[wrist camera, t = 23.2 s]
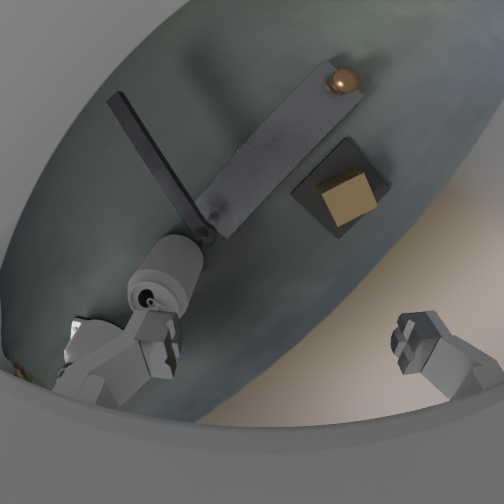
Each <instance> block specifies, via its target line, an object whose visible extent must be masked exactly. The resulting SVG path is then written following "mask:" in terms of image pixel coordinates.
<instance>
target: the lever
mask: <svg viewBox="0 0 504 504" xmlns="http://www.w3.org/2000/svg"><path fill="white" fill-rule="evenodd" d="M106 102H107V103H108V105H109V107H110V108H111V110H112V111H113V113H114V115H115V116H116V118H117V120H118V121H119V123H120V124H121V126H122V128H123V129H124V131H125V132H126V134H127V135H128V137H129V139H130V140H131V142H132V143H133V145H134V146H135V148H136V150H137V151H138V153H139V154H140V156H141V157H142V159H143V160H144V162H145V163H146V165H147V167H148V168H149V170H150V171H151V173H152V174H153V176H154V177H155V179H156V180H157V182H158V183H159V185H160V186H161V188H162V189H163V191H164V192H165V194H166V195H167V197H168V198H169V200H170V201H171V203H172V204H173V206H174V207H175V208H176V210H177V211H178V213H179V214H180V216H181V217H182V219H183V220H184V222H185V223H186V224H187V226H188V227H189V229H190V230H191V232H192V233H193V240H194V242H195V243H196V244H197V245H198V246H199V247H202V248H208V247H211V246H212V245H213V244H214V242H215V240H216V237H217V230H216V228H215V226H214V225H212V224H210V223H208V222H207V221H206V219H205V218H204V216H203V215H202V213H201V212H200V210H199V209H198V207H197V206H196V204H195V203H194V201H193V200H192V198H191V197H190V195H189V194H188V192H187V191H186V189H185V188H184V186H183V185H182V183H181V182H180V180H179V179H178V177H177V176H176V174H175V172H174V171H173V169H172V168H171V166H170V165H169V163H168V162H167V160H166V159H165V157H164V156H163V154H162V153H161V151H160V149H159V148H158V146H157V145H156V143H155V142H154V140H153V139H152V137H151V136H150V134H149V132H148V131H147V129H146V128H145V126H144V125H143V123H142V121H141V120H140V118H139V117H138V115H137V114H136V112H135V110H134V109H133V107H132V106H131V104H130V103H129V101H128V99H127V98H126V96H125V95H124V93H123V92H119V91H117V92H116V93H115V94H114V95H113V96H111V97H110V98H109V99H108V100H107V101H106Z"/></svg>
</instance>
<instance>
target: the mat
mask: <svg viewBox="0 0 504 504" xmlns="http://www.w3.org/2000/svg"><path fill="white" fill-rule="evenodd" d="M353 166H354V167H356V168H357V169H359V170H360V171H362V172H364V174H365V177H366V179H367V181H368V184H369V186H370V188H371V191H372V193H373V196H374V198H375V200H376V203H377V202H378V201H379V200H380V199H381V198H382V197H383V196H384V195H385V194H386V193H387V192H388V191H389V190H390V189H391V188H390V187H389V186H388V185H387V183H386V182H385V181H384V180H383V179H382V177H381V176H380V175H379V174H378V173H377V172H376V170H375V169H374V168H373V167H372V166H371V165H370V164H369V163H368V161H367V160H366V159H365V158H364V157H363V156H362V155H361V154H360V153H359V152H358V150H357V149H356V148H355V147H354V146H353V145H352V144H351V143H350V142H349V141H348V140H347V139H346V138H344V139H343V140H342V141H341V142H340V143H339V144H338V145H337V146H336V147H335V148H334V149H333V150H332V151H331V152H330V153H329V155H328V156H327V157H326V158H325V159H324V160H323V161H322V162H321V163H320V164H319V165H318V166H317V167H316V168H315V169H314V170H313V171H312V172H311V173H310V174H309V175H308V176H307V177H306V178H305V179H304V180H303V181H302V182H301V183H300V184H299V185H298V186H297V187H296V188H295V189H294V190H293V191H292V192H291V195H292V196H293V197H294V198H295V199H296V200H297V201H298V202H299V203H301V204H302V205H303V206H304V207H305V208H306V209H307V210H308V211H309V212H310V213H311V214H313V215H314V216H315V217H316V218H317V219H318V220H319V221H320V222H321V223H322V224H323V225H324V226H325V227H326V228H327V229H328V230H330V231H331V232H332V233H333V234H334V235H335V236H336V237H337V238H338V239H339V238H340V237H341V236H343V235H344V234H345V233H346V232H347V231H348V230H349V229H350V228H351V227H352V226H353V225H354V224H355V223H356V222H357V221H358V220H359V219H360V218H361V217H362V216H363V215H364V214H365V213H364V214H362V215H360V216H358V217H356V218H354V219H353V220H351V221H349V222H347V223H345V224H343V225H341V226H339V227H337V225H336V223H335V222H334V220H333V218H332V217H331V215H330V213H329V211H328V209H327V207H326V205H325V203H324V201H323V199H322V197H321V195H320V193H319V191H318V189H317V187H316V185H318V184H320V183H322V182H324V181H326V180H328V179H329V178H331V177H333V176H335V175H337V174H339V173H341V172H343V171H345V170H347V169H349V168H351V167H353Z"/></svg>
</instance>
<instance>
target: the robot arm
mask: <svg viewBox="0 0 504 504" xmlns="http://www.w3.org/2000/svg"><path fill="white" fill-rule="evenodd" d="M397 323H398V327H397V328H396V329H395V330H394V331H393V334H392V336H391V349H392V351H393V353H394V354H395V355H396V356H397V357H399V359H398V365H399V367H400V369H401V371H402V374H403V375H405V374H413V373H419V372H421V374H422V375H423V376H424V377H425V378H427V379H428V380H429V381H430V382H431V383H432V384H433V385H434V386H435V387H437V388H438V389H439V390H440V391H441V392H442V393H443V394H444V395H445V396H447V397H448V398H449V399H450V401H448V402H445V403H442V404H438V405H434V406H431V407H427V408H423V409H419V410H415V411H410V412H406V413H401V414H396V415H392V416H386V417H382V418H375V419H369V420H363V421H355V422H348V423H339V424H329V425H318V426H301V427H234V426H233V427H232V426H218V425H206V424H195V423H187V422H179V421H172V420H165V419H159V418H153V417H147V416H142V415H137V414H132V413H127V412H123V411H122V410H121V408H120V406H121V405H122V404H123V403H124V402H125V401H126V400H127V399H128V398H129V397H131V396H132V395H133V394H134V393H135V392H136V391H137V390H138V389H139V388H140V387H141V386H143V385H144V384H145V383H146V382H147V381H148V380H149V379H150V378H151V377H157V378H167V379H174V375H175V372H176V368H177V362H176V358H178V357H179V356H180V353H181V349H182V334H181V331H180V330H179V328H178V324H179V317H178V314H177V313H176V312H167V311H157V310H146V309H136V310H135V311H134V313H133V314H132V316H131V318H130V320H129V322H128V324H127V326H126V327H125V329H124V331H123V330H122V329H120V328H119V327H117V326H115V325H113V324H111V323H109V322H106V321H102V320H83V319H80V318H74V320H73V322H72V329H71V340H70V342H69V343H68V345H67V346H66V348H65V350H64V353H65V355H64V358H65V365H64V366H63V368H62V369H61V370H60V372H59V374H58V376H57V378H56V384H55V386H54V388H53V390H52V391H50V390H48V389H45V388H42V387H40V386H37V385H34V384H32V383H30V382H27V381H25V380H22V379H20V378H18V377H15V376H13V375H11V374H9V373H7V372H4V371H2V370H0V504H504V372H503V370H502V368H501V367H500V365H499V364H498V362H497V361H496V360H495V359H493V358H492V357H490V356H489V355H487V354H485V353H484V352H482V351H480V350H479V349H477V348H475V347H474V346H472V345H471V344H469V343H467V342H466V341H464V340H462V339H460V338H459V337H457V336H455V335H454V336H452V334H451V333H450V331H449V330H448V328H447V327H446V326H445V324H444V323H443V321H442V320H441V319H440V317H439V316H438V314H437V313H436V312H435V311H433V310H432V311H423V312H415V313H402V314H401V315H400V316H399V318H398V321H397Z"/></svg>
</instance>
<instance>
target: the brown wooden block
mask: <svg viewBox="0 0 504 504" xmlns="http://www.w3.org/2000/svg"><path fill="white" fill-rule="evenodd" d="M316 187H317V189H318V191H319V193H320V195H321V197H322V199H323V201H324V203H325V205H326V207H327V209H328V211H329V213H330V215H331V217H332V218H333V220H334V222H335V223H336V225H337V227H339V226H341V225H343V224H345V223H347V222H349V221H351V220H353V219H354V218H356V217H358V216H360V215H362V214H364V213H366V212H368V211H370V210H372V209H374V208H376V207H378V205H377V203H376V200H375V198H374V196H373V193H372V191H371V188H370V186H369V184H368V181H367V179H366V177H365V174H364V172H362V171H360V170H359V169H357V168H356V167H354V166H353V167H351V168H349V169H347V170H345V171H343V172H341V173H339V174H337V175H335V176H333V177H331V178H329V179H328V180H326V181H324V182H322V183H320V184H318V185H316Z"/></svg>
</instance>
